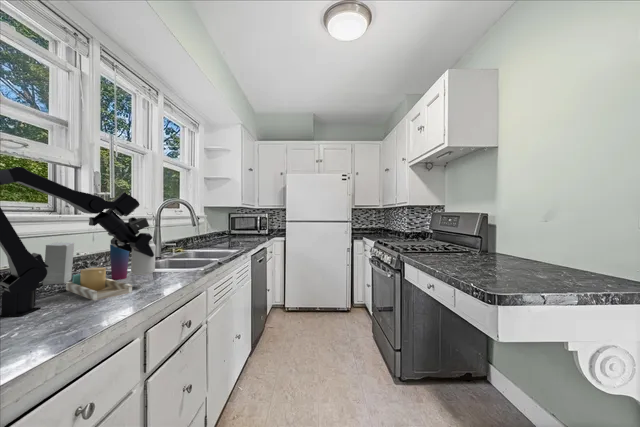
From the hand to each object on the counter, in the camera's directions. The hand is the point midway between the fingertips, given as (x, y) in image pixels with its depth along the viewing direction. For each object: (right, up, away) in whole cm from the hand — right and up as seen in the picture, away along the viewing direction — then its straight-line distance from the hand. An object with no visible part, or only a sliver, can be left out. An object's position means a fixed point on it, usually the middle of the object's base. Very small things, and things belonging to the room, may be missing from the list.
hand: (147, 255), depth 107 cm
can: (-1, -7, -1) cm, 7 cm away
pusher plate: (-19, -11, -4) cm, 23 cm away
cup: (-19, -12, +12) cm, 25 cm away
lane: (-12, -12, -8) cm, 19 cm away
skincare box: (-37, -12, +4) cm, 39 cm away
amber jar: (-16, -11, -6) cm, 20 cm away
